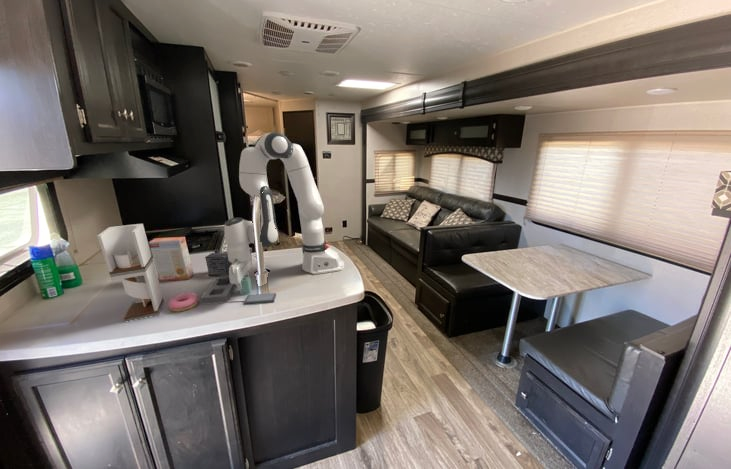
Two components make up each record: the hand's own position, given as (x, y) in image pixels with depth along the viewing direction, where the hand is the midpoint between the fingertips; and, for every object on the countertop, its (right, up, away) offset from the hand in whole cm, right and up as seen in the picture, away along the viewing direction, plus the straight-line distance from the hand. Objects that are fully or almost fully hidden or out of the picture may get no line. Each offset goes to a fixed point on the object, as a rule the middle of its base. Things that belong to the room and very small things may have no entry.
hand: (243, 283), depth 131 cm
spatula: (+6, -6, -6) cm, 10 cm away
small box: (-20, +2, +20) cm, 28 cm away
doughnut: (-21, -8, -9) cm, 24 cm away
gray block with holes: (-10, -4, +1) cm, 11 cm away
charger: (+1, -4, +1) cm, 4 cm away
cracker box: (-40, 0, +16) cm, 43 cm away
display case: (-35, -9, -12) cm, 38 cm away
